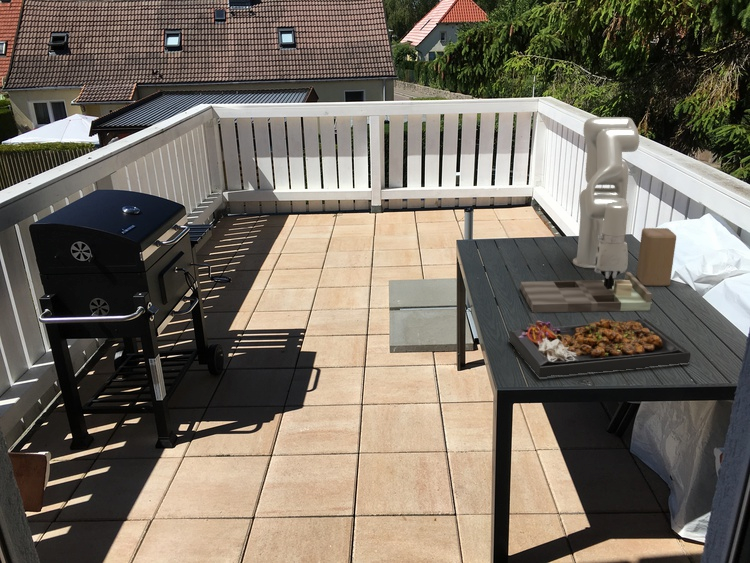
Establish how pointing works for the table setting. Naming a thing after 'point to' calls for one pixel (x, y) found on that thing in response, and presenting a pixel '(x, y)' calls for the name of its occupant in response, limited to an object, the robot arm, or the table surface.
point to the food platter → (596, 347)
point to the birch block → (622, 287)
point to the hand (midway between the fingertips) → (608, 287)
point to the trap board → (584, 296)
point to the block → (656, 256)
